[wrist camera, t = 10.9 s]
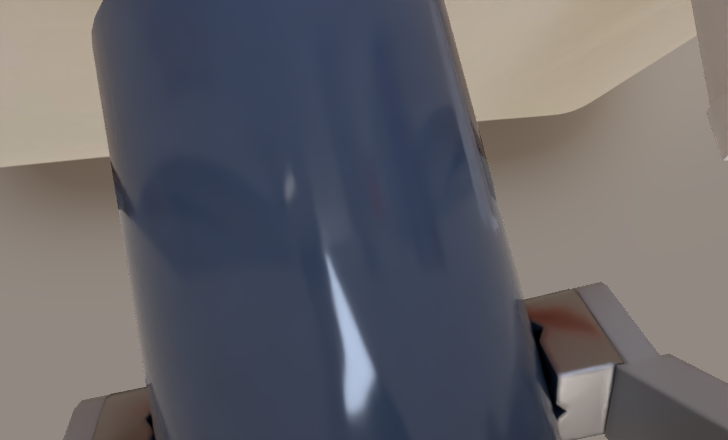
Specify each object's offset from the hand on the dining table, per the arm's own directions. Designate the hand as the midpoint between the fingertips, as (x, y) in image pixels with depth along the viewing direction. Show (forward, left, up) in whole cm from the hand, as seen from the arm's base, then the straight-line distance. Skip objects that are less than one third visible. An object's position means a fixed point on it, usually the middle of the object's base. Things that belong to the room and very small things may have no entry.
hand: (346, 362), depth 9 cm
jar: (0, +1, -6) cm, 6 cm away
